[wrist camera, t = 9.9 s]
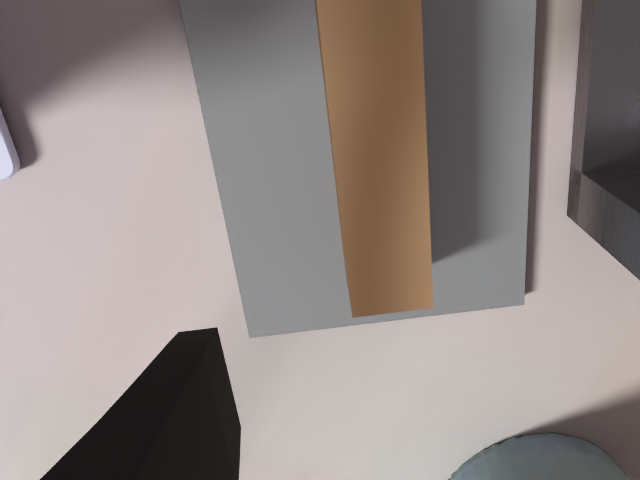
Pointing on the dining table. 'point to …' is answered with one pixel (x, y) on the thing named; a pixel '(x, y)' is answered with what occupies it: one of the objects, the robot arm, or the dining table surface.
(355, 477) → the dining table surface
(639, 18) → the dark grey cradle
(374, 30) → the walnut bar
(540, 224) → the dining table surface
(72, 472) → the robot arm
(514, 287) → the grey mat
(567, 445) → the teal tumbler
